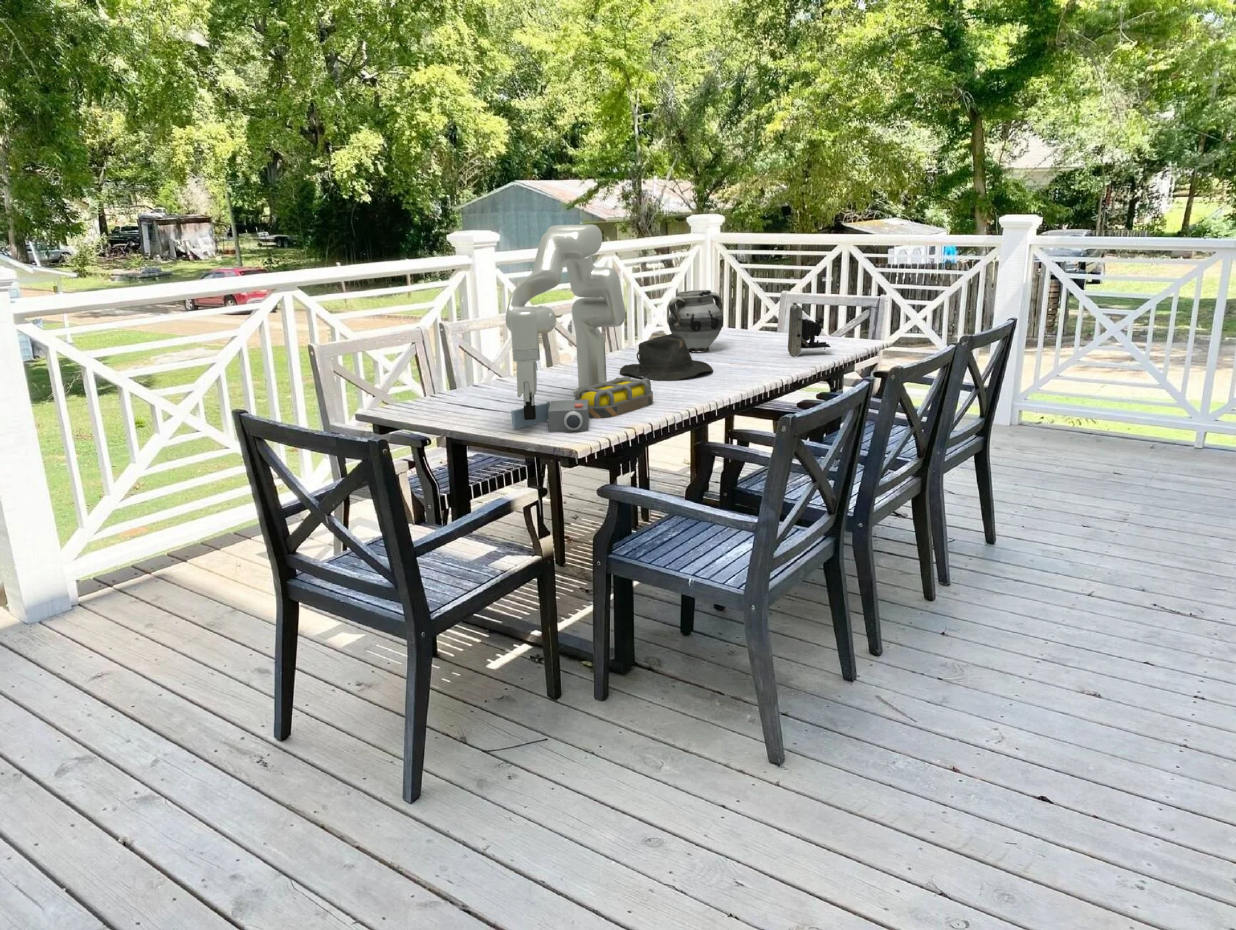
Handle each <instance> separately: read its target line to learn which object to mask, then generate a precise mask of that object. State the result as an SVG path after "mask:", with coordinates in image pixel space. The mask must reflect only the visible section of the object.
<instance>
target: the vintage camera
mask: <svg viewBox="0 0 1236 930" xmlns="http://www.w3.org/2000/svg"><path fill="white" fill-rule="evenodd" d="M824 321H825V319H824V318H823V317H818V321H817V322H816V321H814V320H810V319H808V318H807V319H806V318H805V319H804V318H803V308H802V307H801V306H799V305H798V304H796V303H793V304H792V305H791V306H790V307H789V321H788V339H787V340H788V342H787V351H788V352H789V354H790V353H791V354H790V355H791V356H793V357H794V356H797V357H799V356H800V354H801V351H802V350H801V349H822V348H824V349H826V348H831V345H830V344H829V343H827V342H826V341H821V342H820V340H816V337H820V335H821V333H822V330H823V325H821V324H823V323H824ZM815 340H816V341H815ZM808 341H809V342H808Z"/></svg>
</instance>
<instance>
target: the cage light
mask: <svg viewBox="0 0 1236 930" xmlns="http://www.w3.org/2000/svg"><path fill="white" fill-rule="evenodd" d="M651 383H652V381H650V380H649V379H647V378H645V379H634V378H631V377H630V376H629V375H625V376H623V377H615V378H614V379H611V380H608V381H607V382H604V383H603V382H599V383H597V384H596V385H593V386H589V387H581V388H579V387H578V388H579V389H578V390H577V391H576V393H574V400H586V399H588V404H589V420H592V419H594V420H595V419H598V420H599V419H608V418H609V419H610V418H614V417H617V416H618V417H619V416H621V415H624V414H627V413H631V412H633V411H637V410H640V409H644V408H646V407H649V406H652V405H653V404H654V393H653V390H652V384H651ZM585 392H586V393H585ZM582 393H585V394H583V395H582Z"/></svg>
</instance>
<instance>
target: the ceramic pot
mask: <svg viewBox="0 0 1236 930" xmlns="http://www.w3.org/2000/svg"><path fill="white" fill-rule="evenodd" d="M668 302H669V303H668V309H669V315H668V319H667V321H668V323H667V324H668V328H669V331H670V334H678V335H680V336H681V337H682V338H683V339H684V340H685V343H686V346H687V348H688V351H706V352H708V351H709V350H710V347H711V345H712V344H713V343H714V342H715V341H716V340H717V338H718V337H719V335H720V333H721V331H722V329H723V326H724V317H723V315H724V314H723V313H722V311H721V309H722V300H721V296H720V294H718V293H717V292H716V291H715V292H712V290H711V289H696V290H685V291H679V292H676V296H675V297H673V298H671V300H670V301H668ZM707 350H708V351H707Z"/></svg>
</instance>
